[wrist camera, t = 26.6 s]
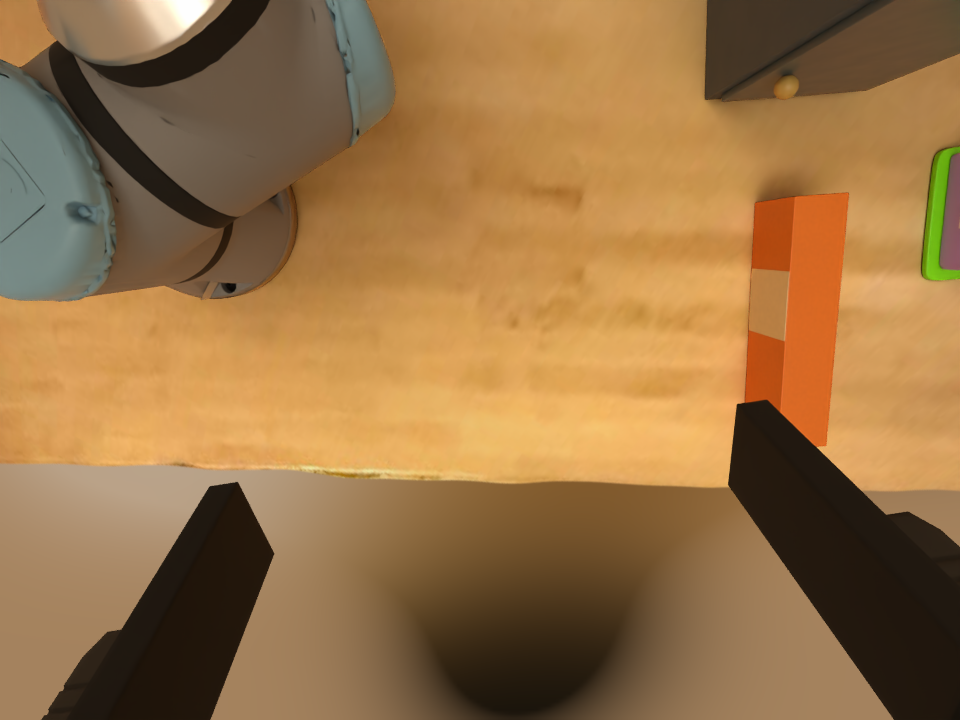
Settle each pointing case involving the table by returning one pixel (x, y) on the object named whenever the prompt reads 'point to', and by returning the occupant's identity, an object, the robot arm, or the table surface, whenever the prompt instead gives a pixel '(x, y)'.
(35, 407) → the table surface
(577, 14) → the table surface
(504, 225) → the table surface
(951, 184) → the toy room diorama
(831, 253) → the block
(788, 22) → the cabinet
